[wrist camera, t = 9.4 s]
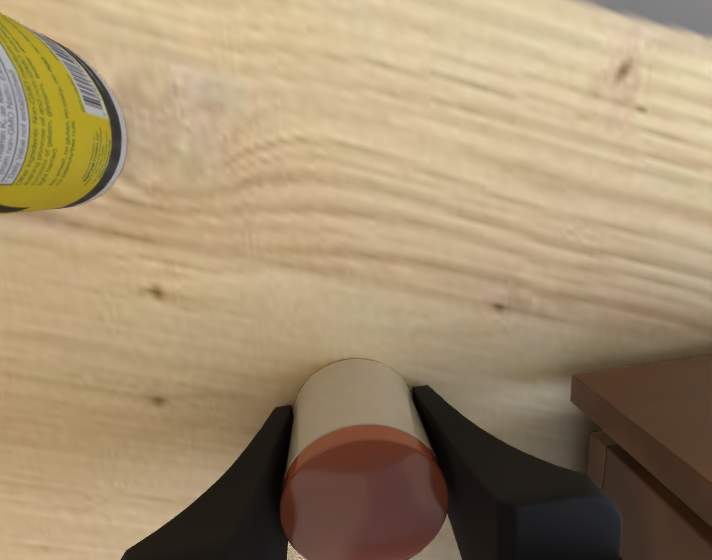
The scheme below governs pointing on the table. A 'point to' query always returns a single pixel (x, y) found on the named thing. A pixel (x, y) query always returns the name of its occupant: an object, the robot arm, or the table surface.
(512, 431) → the table surface
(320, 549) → the pot
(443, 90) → the table surface
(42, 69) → the supplement bottle
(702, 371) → the drawer
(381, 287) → the table surface
